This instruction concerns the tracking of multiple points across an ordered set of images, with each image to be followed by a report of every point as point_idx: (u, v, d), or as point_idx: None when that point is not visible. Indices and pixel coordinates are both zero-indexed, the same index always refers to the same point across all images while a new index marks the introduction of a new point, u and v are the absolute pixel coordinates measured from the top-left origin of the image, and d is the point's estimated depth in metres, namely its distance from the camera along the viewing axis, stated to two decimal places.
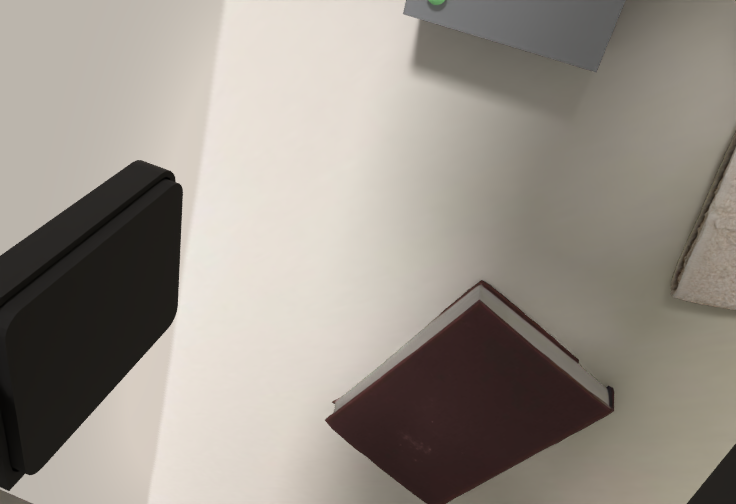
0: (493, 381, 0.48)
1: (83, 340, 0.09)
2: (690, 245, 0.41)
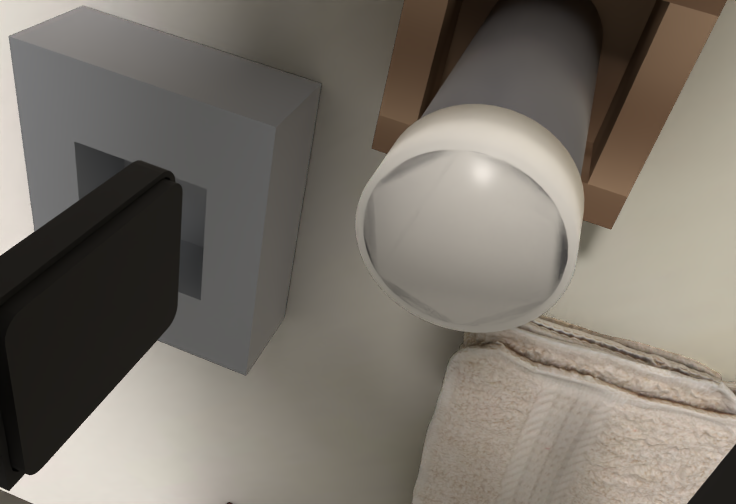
0: None
1: (83, 340, 0.09)
2: None
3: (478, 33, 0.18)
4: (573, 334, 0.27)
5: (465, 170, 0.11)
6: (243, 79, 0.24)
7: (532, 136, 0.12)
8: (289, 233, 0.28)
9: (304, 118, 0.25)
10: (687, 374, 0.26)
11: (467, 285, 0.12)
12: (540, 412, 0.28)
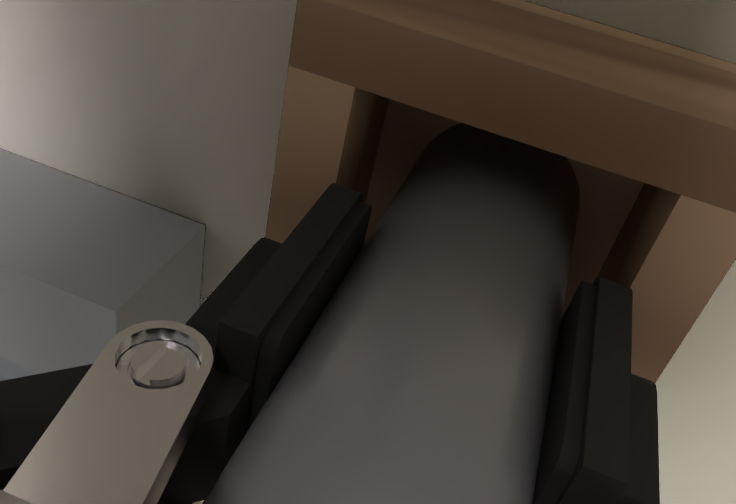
0: None
1: None
2: None
3: (379, 228, 0.12)
4: None
5: None
6: (92, 225, 0.18)
7: None
8: None
9: (177, 276, 0.18)
10: None
11: None
12: None
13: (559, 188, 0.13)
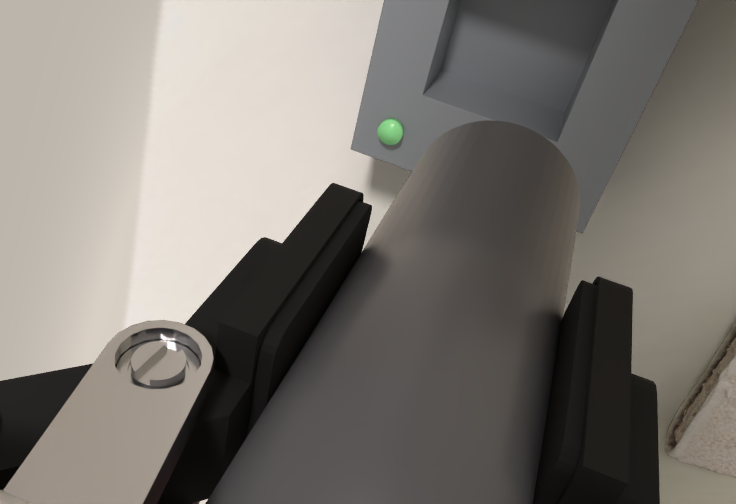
0: None
1: None
2: (692, 399, 0.35)
3: (379, 230, 0.12)
4: None
5: None
6: None
7: None
8: None
9: None
10: None
11: None
12: None
13: (560, 190, 0.13)
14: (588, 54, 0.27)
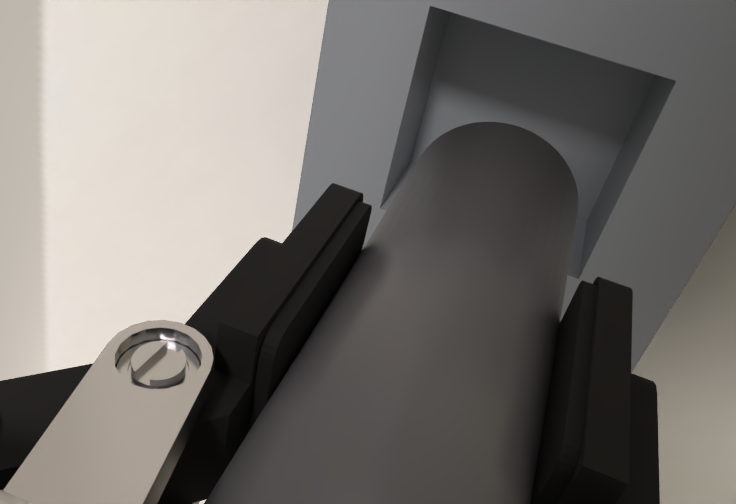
0: None
1: None
2: None
3: (378, 232, 0.12)
4: None
5: None
6: None
7: None
8: None
9: None
10: None
11: None
12: None
13: (558, 192, 0.13)
14: (621, 144, 0.18)
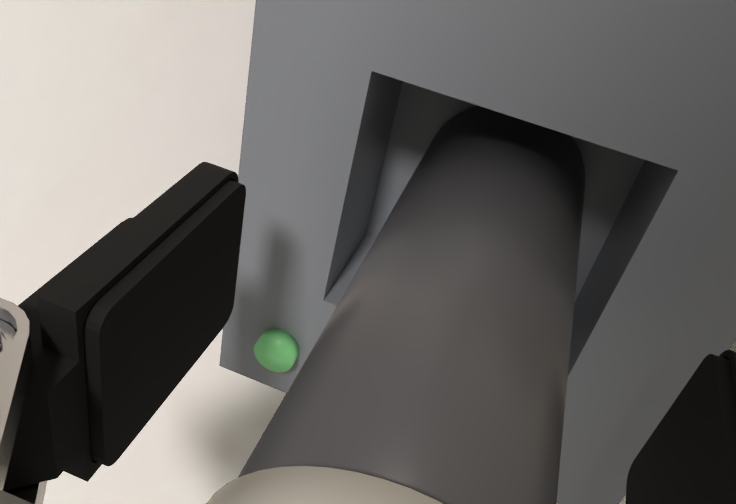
0: None
1: (158, 336, 0.10)
2: None
3: (403, 200, 0.12)
4: None
5: None
6: None
7: None
8: None
9: None
10: None
11: None
12: None
13: (568, 165, 0.14)
14: (611, 224, 0.15)
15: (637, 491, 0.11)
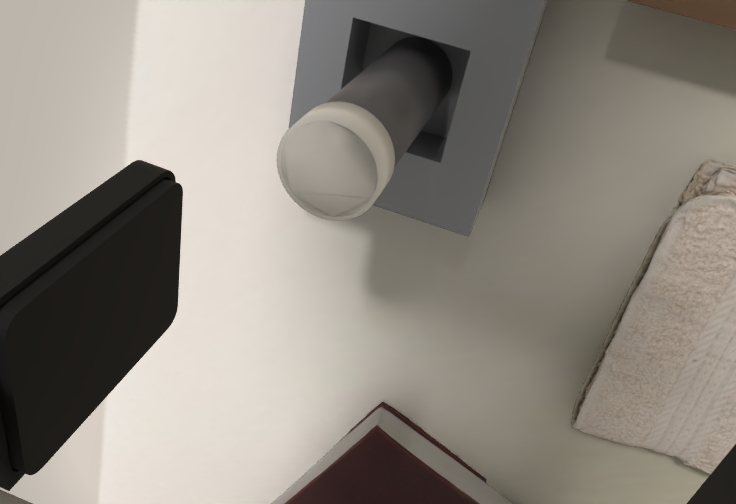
0: (399, 503, 0.47)
1: (83, 340, 0.09)
2: (592, 377, 0.40)
3: None
4: None
5: (325, 130, 0.23)
6: None
7: (360, 115, 0.24)
8: (512, 108, 0.33)
9: None
10: None
11: (334, 193, 0.24)
12: None
13: (438, 60, 0.32)
14: None
15: None
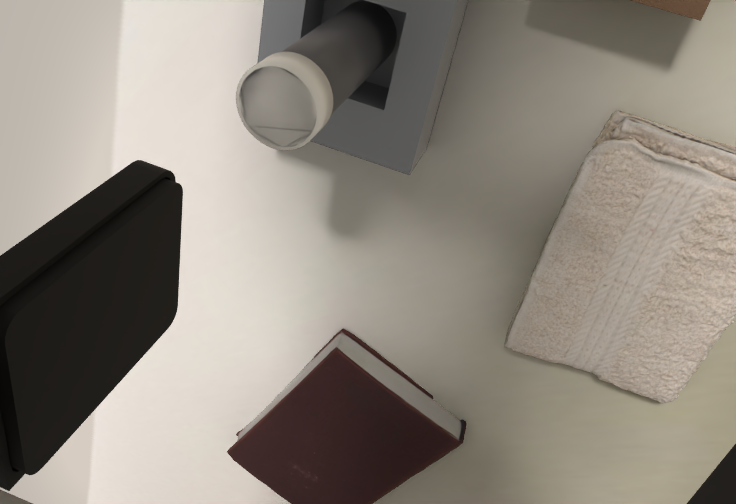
0: (357, 417, 0.54)
1: (83, 340, 0.09)
2: None
3: None
4: (685, 135, 0.37)
5: (274, 74, 0.29)
6: None
7: (303, 63, 0.29)
8: (447, 64, 0.38)
9: None
10: None
11: (282, 126, 0.30)
12: (653, 197, 0.38)
13: (382, 21, 0.37)
14: None
15: None
